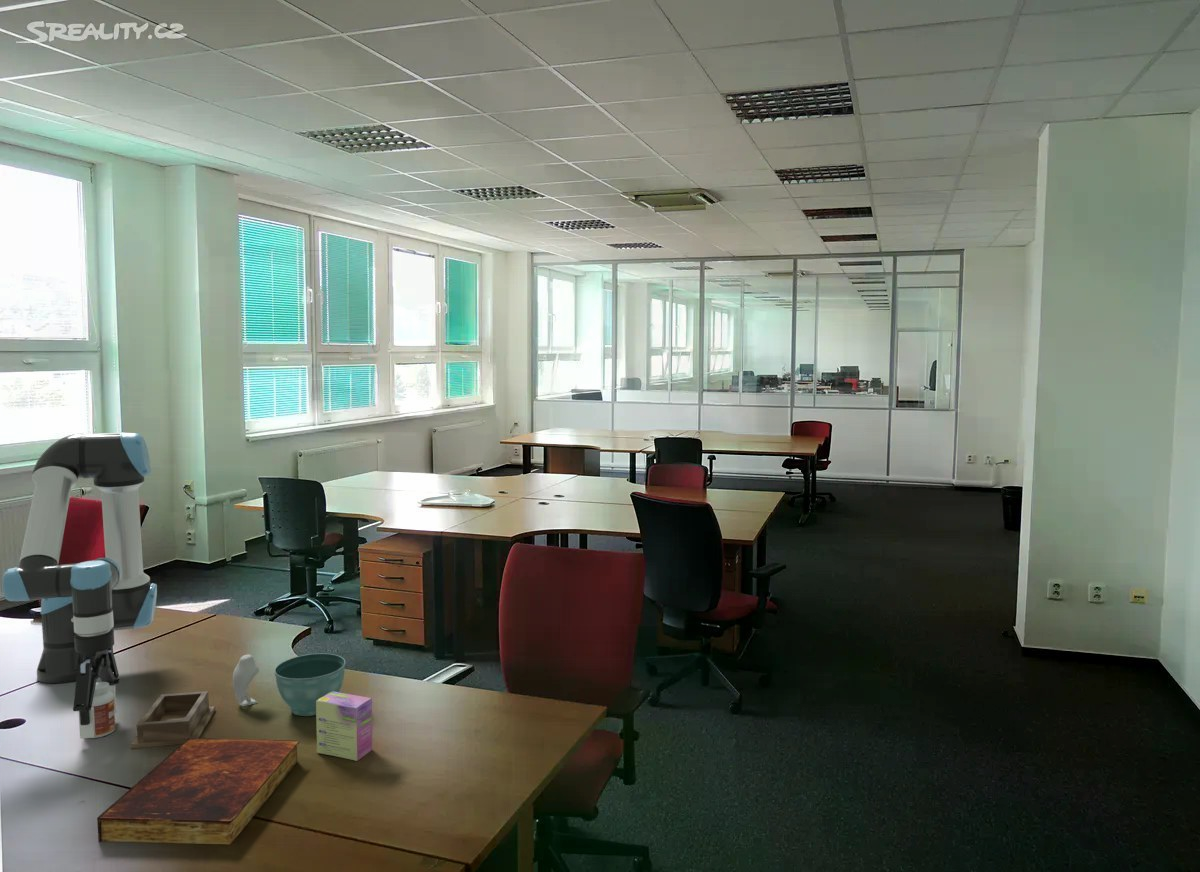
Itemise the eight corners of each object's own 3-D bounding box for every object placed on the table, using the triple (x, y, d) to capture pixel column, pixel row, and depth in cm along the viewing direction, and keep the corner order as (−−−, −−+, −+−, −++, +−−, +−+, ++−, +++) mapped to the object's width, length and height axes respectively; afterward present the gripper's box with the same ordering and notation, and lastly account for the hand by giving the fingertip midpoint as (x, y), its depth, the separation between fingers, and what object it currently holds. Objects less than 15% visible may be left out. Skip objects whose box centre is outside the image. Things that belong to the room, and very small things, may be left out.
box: (373, 749, 175) (372, 697, 174) (357, 761, 169) (356, 707, 168) (333, 741, 178) (332, 690, 177) (316, 753, 173) (315, 700, 172)
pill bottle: (116, 734, 181) (113, 687, 180) (83, 741, 177) (80, 693, 176) (114, 724, 186) (112, 677, 185) (83, 730, 182) (80, 683, 181)
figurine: (228, 702, 198) (227, 655, 197) (250, 696, 202) (248, 649, 201) (242, 711, 193) (240, 663, 192) (263, 704, 197) (262, 657, 196)
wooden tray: (156, 714, 191) (155, 694, 190) (215, 710, 194) (214, 690, 193) (130, 748, 174) (129, 726, 174) (195, 742, 177) (194, 721, 177)
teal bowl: (277, 728, 184) (275, 682, 183) (274, 701, 199) (273, 658, 198) (350, 716, 191) (349, 672, 190) (342, 690, 206) (341, 649, 205)
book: (188, 760, 170) (187, 738, 170) (300, 763, 170) (300, 740, 169) (97, 844, 141) (95, 817, 140) (232, 848, 140) (231, 821, 140)
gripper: (96, 615, 190) (101, 704, 192) (50, 651, 167) (56, 751, 169) (131, 613, 192) (135, 701, 194) (91, 648, 168) (96, 748, 170)
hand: (98, 724), depth 181 cm, fingers open, 12 cm apart
